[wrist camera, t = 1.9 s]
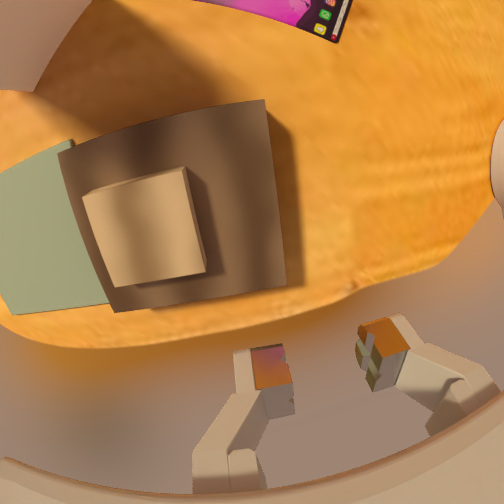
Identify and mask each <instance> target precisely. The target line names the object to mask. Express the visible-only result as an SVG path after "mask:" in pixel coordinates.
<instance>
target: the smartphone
mask: <svg viewBox="0 0 504 504" xmlns="http://www.w3.org/2000/svg"><path fill="white" fill-rule="evenodd" d="M194 1H200V2H206V3H211V4H216V5H221V6H226V7H230V8H235V9H239V10H243V11H247V12H250V13H254V14H257V15H261V16H264V17H267V18H271V19H274V20H277V21H280V22H283V23H286V24H288V25H291V26H294V27H297V28H299V29H302V30H305V31H307V32H310V33H312V34H314V35H317V36H319V37H322V38H324V39H326V40H328V41H331V42H333V43H337V42H338V40H339V37H340V34H341V31H342V29H343V26H344V23H345V20H346V17H347V14H348V11H349V8H350V5H351V2H352V0H194Z"/></svg>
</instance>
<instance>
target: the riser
mask: <svg viewBox="0 0 504 504" xmlns="http://www.w3.org/2000/svg"><path fill="white" fill-rule="evenodd" d="M57 156H58V160H59V164H60V168H61V172H62V176H63V180H64V183H65V187H66V190H67V194H68V197H69V200H70V204H71V207H72V210H73V213H74V216H75V219H76V222H77V225H78V228H79V231H80V233H81V236H82V239H83V242H84V244H85V247H86V250H87V252H88V255H89V257H90V260H91V262H92V265H93V267H94V269H95V272H96V274H97V276H98V279H99V281H100V283H101V286H102V288H103V290H104V292H105V294H106V297H107V299H108V301H109V303H110V305H111V307H112V309H113V311H114V313H118V312H126V311H133V310H141V309H148V308H155V307H162V306H169V305H175V304H182V303H188V302H195V301H201V300H207V299H213V298H219V297H225V296H231V295H237V294H242V293H248V292H253V291H259V290H264V289H270V288H275V287H280V286H285V285H287V280H286V269H285V259H284V250H283V240H282V231H281V222H280V213H279V205H278V196H277V188H276V180H275V172H274V164H273V157H272V149H271V142H270V135H269V127H268V120H267V114H266V107H265V100H264V99H262V100H254V101H246V102H239V103H232V104H226V105H220V106H214V107H209V108H204V109H199V110H194V111H189V112H185V113H180V114H176V115H172V116H167V117H163V118H159V119H156V120H152V121H148V122H145V123H141V124H138V125H134V126H131V127H128V128H124V129H121V130H118V131H115V132H112V133H109V134H106V135H103V136H100V137H97V138H95V139H92V140H89V141H86V142H84V143H81V144H79V145H76V146H73V147H71V148H69V149H66V150H64V151H61V152H59V153H57ZM183 166H185V167H186V172H187V177H188V182H189V186H190V191H191V195H192V200H193V204H194V209H195V213H196V218H197V222H198V226H199V231H200V235H201V239H202V243H203V247H204V251H205V255H206V259H207V261H206V272H203V273H197V274H192V275H186V276H180V277H174V278H168V279H163V280H157V281H151V282H145V283H139V284H133V285H127V286H121V287H114V284H113V282H112V280H111V277H110V275H109V272H108V270H107V267H106V265H105V262H104V260H103V257H102V255H101V252H100V249H99V247H98V244H97V241H96V239H95V236H94V233H93V230H92V227H91V224H90V221H89V218H88V215H87V212H86V209H85V206H84V202H83V199H82V197H83V196H85V195H86V194H87V193H89V192H90V191H92V190H95V189H98V188H101V187H105V186H108V185H111V184H115V183H118V182H122V181H126V180H129V179H133V178H137V177H141V176H145V175H149V174H153V173H157V172H161V171H165V170H169V169H174V168H178V167H183Z"/></svg>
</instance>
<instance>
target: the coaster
mask: <svg viewBox="0 0 504 504" xmlns="http://www.w3.org/2000/svg"><path fill="white" fill-rule="evenodd" d="M82 199H83V202H84V206H85V209H86V212H87V215H88V218H89V221H90V224H91V227H92V230H93V233H94V236H95V239H96V241H97V244H98V247H99V249H100V252H101V255H102V257H103V260H104V262H105V265H106V267H107V270H108V272H109V275H110V277H111V280H112V282H113V284H114V287H121V286H127V285H133V284H139V283H145V282H151V281H157V280H163V279H168V278H174V277H180V276H186V275H192V274H197V273H203V272H206V261H207V259H206V255H205V251H204V247H203V243H202V239H201V235H200V231H199V226H198V222H197V218H196V213H195V209H194V204H193V200H192V195H191V191H190V186H189V182H188V177H187V172H186V167H185V166H183V167H178V168H174V169H169V170H165V171H161V172H157V173H153V174H149V175H145V176H141V177H137V178H133V179H129V180H126V181H122V182H118V183H115V184H111V185H108V186H105V187H101V188H98V189H95V190H92V191H90V192H89V193H87V194H86V195H85V196H83V197H82Z"/></svg>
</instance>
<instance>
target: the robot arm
mask: <svg viewBox="0 0 504 504" xmlns="http://www.w3.org/2000/svg"><path fill="white" fill-rule="evenodd" d="M491 182H492V188H493V192H494V195H495V198H496V200H497V201H498V203H499V204H500V206H501V208H502V212H503V217H504V120H503V121H502V123H501V124H500V126H499V128H498V130H497V132H496V135H495V139H494V143H493V148H492V155H491ZM358 335H359V337H360V339H359V340H358V341H357V342H356V348H355V351H356V358H357V361H358V363H359V366H360V368H361V369H363V370H365V371H367V374H366V380H367V382H368V384H369V386H370V388H371V390H372V392H376V391H379V390H382V389H385V388H388V387H391V386H394V385H395V387H396V388H398V389H400V390H401V391H402V392H404V393H405V394H407V395H408V396H410V397H411V398H413V399H414V400H416V401H417V402H419V403H420V404H422V405H423V406H425V407H426V408H428V409H429V410H431V411H433V412H434V413H433V414H432V416H431V417H430V418H429V420H428V421H427V423H426V425H425V427H426V429H427V431H428V433H429V435H430V437H429V438H427V439H425V440H423V441H421V442H419V443H417V444H415V445H413V446H411V447H409V448H407V449H404V450H402V451H399V452H397V453H395V454H392V455H390V456H387V457H386V458H382V459H380V460H377V461H375V462H372V463H369V464H366V465H363V466H361V467H358V468H354V469H352V470H348V471H345V472H342V473H338V474H335V475H331V476H327V477H324V478H320V479H316V480H312V481H307V482H303V483H298V484H293V485H288V486H282V487H276V488H270V489H267V484H266V478H265V475H264V472H263V470H262V468H261V465H260V463H259V460H258V458H257V456H256V453H255V449H256V447H257V445H258V443H259V441H260V439H261V437H262V435H263V433H264V430H265V428H266V426H267V424H268V422H269V420H270V419H274V418H280V417H284V416H289V415H293V414H295V409H294V401H293V396H294V392H293V382H292V378H291V374H290V371H289V366H288V364H287V363H286V358H285V351H284V348H283V345H282V344H275V345H269V346H263V347H257V348H251V349H245V350H237V351H234V355H233V357H234V369H235V381H236V392H237V393H235V394H232V395H231V396H230V398H229V399H228V401H227V402H226V404H225V405H224V407H223V408H222V410H221V411H220V413H219V414H218V416H217V417H216V419H215V420H214V422H213V423H212V425H211V426H210V428H209V429H208V430H207V432H206V433H205V435H204V436H203V438H202V439H201V441H200V442H199V443H198V445H197V446H196V448H195V449H194V451H193V454H192V455H193V456H192V458H193V459H192V466H193V467H192V469H193V470H192V476H193V477H192V479H193V494H168V493H152V492H142V491H133V490H126V489H118V488H112V487H107V486H102V485H97V484H91V483H87V482H83V481H79V480H74V479H71V478H67V477H63V476H60V475H57V474H53V473H50V472H47V471H44V470H41V469H38V468H35V467H32V466H29V465H27V464H25V463H22V462H19V461H17V460H15V459H12V458H9V457H3V458H0V504H504V390H503V391H502V392H501V391H500V390H499V388H498V387H497V385H496V384H495V383H494V381H493V380H492V378H491V377H490V376H489V374H488V373H487V372H486V370H485V369H484V368H483V366H482V365H479V364H477V363H475V362H472V361H470V360H468V359H465V358H463V357H461V356H459V355H456V354H454V353H452V352H449V351H447V350H445V349H442V348H440V347H438V346H436V345H433V344H431V343H429V342H428V343H424V342H423V341H422V339H421V338H420V337H419V335H418V334H417V333H416V331H415V330H414V329H413V327H412V326H411V325H410V323H409V322H408V321H407V320H406V318H405V317H404V316H403V315H402V314H401V313H397V314H394V315H391V316H388V317H384V318H381V319H378V320H374V321H371V322H368V323H364V324H361V325H360V326H359V327H358Z"/></svg>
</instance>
